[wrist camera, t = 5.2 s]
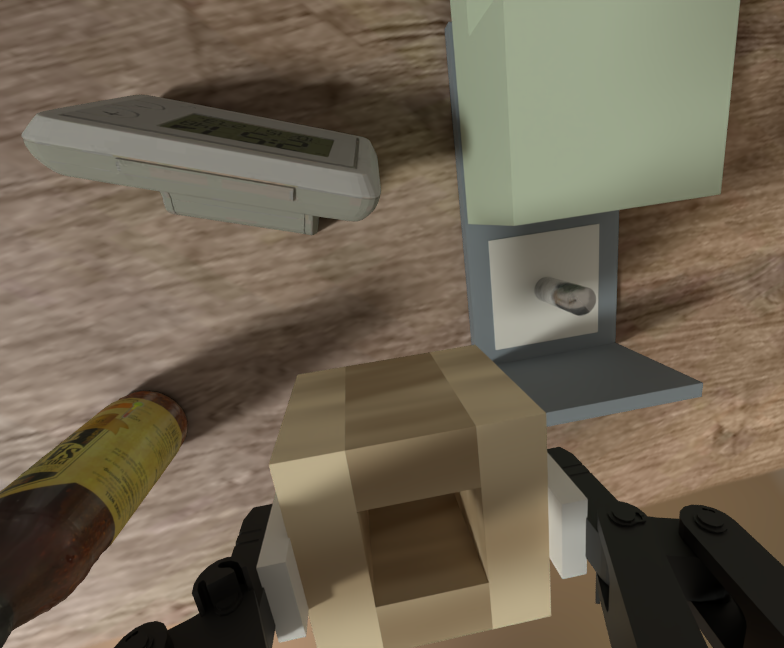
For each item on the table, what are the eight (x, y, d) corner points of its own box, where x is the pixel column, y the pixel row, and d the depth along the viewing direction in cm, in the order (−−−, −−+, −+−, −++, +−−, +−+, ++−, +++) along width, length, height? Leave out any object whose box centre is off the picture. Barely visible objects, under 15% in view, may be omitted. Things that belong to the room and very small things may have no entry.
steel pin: (527, 276, 31) (568, 289, 25) (550, 273, 31) (596, 285, 26) (528, 300, 32) (568, 317, 26) (551, 296, 32) (596, 313, 26)
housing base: (444, 29, 26) (497, -73, 17) (615, 10, 27) (751, -96, 18) (474, 375, 33) (522, 434, 24) (607, 351, 34) (701, 399, 25)
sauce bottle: (140, 371, 30) (-227, 644, 11) (207, 418, 31) (-7, 725, 12) (90, 428, 30) (-337, 778, 11) (158, 470, 32) (-115, 838, 13)
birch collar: (297, 374, 16) (268, 464, 10) (475, 344, 16) (546, 413, 10) (330, 522, 18) (322, 667, 12) (486, 491, 18) (550, 615, 13)
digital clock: (387, 151, 28) (411, 111, 17) (347, 268, 29) (348, 294, 19) (152, 51, 24) (12, -70, 14) (124, 189, 26) (-16, 171, 16)
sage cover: (445, -54, 23) (494, -186, 16) (630, -71, 24) (760, -204, 17) (468, 224, 28) (513, 225, 20) (621, 200, 29) (720, 194, 21)
